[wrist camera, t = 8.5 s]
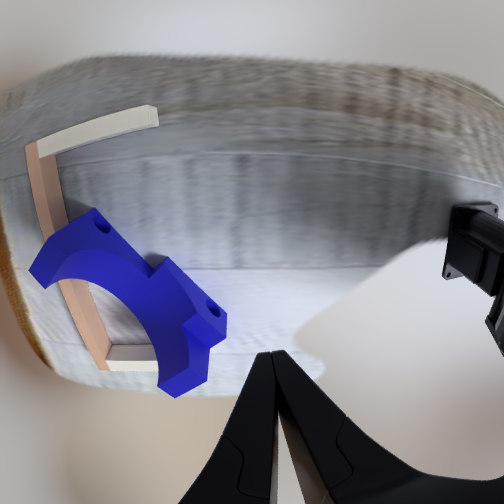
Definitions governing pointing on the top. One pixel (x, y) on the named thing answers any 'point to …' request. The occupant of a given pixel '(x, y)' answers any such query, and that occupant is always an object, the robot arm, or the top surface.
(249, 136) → the top surface
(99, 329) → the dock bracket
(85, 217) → the blue half clamp
